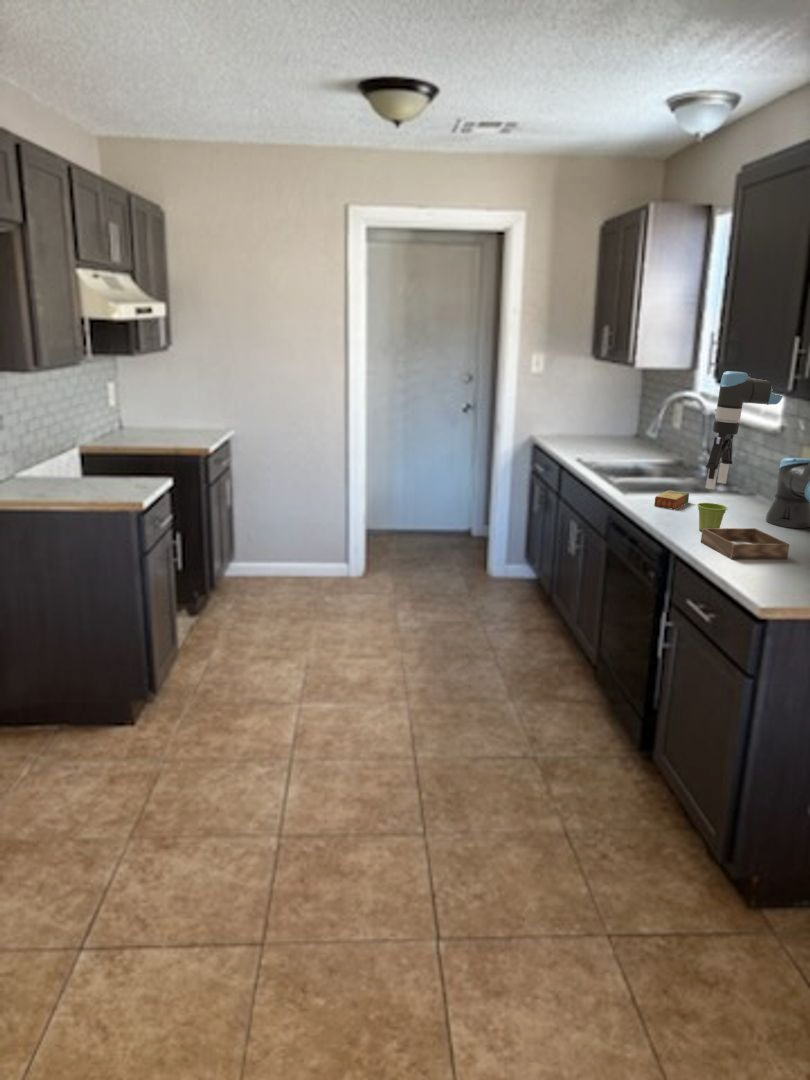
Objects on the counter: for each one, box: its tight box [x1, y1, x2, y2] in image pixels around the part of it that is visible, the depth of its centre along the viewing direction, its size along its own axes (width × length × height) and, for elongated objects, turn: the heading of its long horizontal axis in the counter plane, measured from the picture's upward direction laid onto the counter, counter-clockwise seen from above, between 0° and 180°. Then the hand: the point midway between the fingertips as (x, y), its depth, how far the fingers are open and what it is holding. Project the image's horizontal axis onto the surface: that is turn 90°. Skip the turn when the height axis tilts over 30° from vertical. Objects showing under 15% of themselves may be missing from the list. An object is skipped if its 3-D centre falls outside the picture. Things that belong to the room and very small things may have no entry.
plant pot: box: [696, 502, 728, 532], centre depth 272 cm, size 9×9×9 cm
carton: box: [653, 489, 690, 510], centre depth 310 cm, size 8×16×4 cm, turn 146°
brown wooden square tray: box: [700, 527, 791, 560], centre depth 252 cm, size 18×18×4 cm
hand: (715, 485), depth 269 cm, fingers open, 13 cm apart
